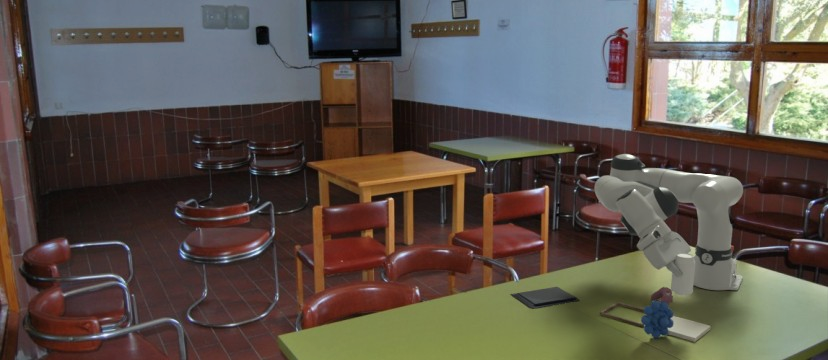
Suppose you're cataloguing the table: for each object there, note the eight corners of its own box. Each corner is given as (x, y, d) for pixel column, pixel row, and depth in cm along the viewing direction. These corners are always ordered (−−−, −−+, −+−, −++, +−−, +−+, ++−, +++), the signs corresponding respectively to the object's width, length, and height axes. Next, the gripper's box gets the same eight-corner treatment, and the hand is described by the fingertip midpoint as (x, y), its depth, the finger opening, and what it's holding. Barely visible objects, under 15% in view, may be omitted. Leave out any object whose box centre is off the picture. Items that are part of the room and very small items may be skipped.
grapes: (650, 347, 200) (653, 307, 197) (635, 337, 206) (637, 299, 204) (682, 340, 204) (685, 302, 202) (666, 331, 210) (668, 294, 208)
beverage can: (666, 291, 211) (669, 253, 209) (681, 288, 214) (684, 251, 212) (681, 297, 206) (684, 259, 204) (697, 295, 208) (700, 256, 206)
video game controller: (665, 314, 227) (677, 297, 226) (653, 308, 228) (664, 290, 226) (661, 303, 237) (672, 287, 235) (649, 297, 237) (659, 280, 235)
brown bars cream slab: (617, 303, 232) (617, 300, 232) (710, 329, 212) (710, 325, 212) (599, 314, 224) (599, 311, 223) (694, 342, 203) (695, 338, 203)
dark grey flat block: (530, 305, 228) (509, 290, 242) (530, 311, 228) (508, 295, 242) (582, 297, 235) (558, 283, 249) (582, 303, 235) (558, 288, 249)
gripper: (663, 234, 222) (691, 269, 218) (634, 247, 207) (663, 286, 203) (677, 223, 218) (706, 259, 214) (649, 236, 204) (679, 275, 199)
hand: (685, 272), depth 208 cm, fingers closed on beverage can, 6 cm apart
